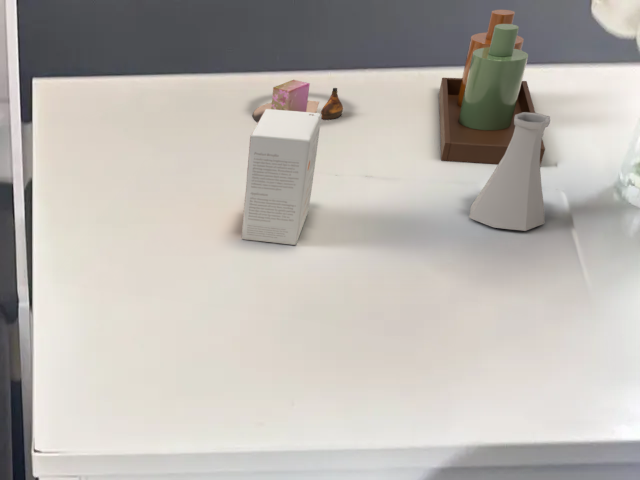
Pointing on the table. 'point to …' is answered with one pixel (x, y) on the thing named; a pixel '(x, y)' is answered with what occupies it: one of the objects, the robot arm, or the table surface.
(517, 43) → the amber bottle
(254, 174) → the small box
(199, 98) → the table surface
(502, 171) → the flask
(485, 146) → the tray
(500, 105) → the green bottle
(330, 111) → the plate of sweets
